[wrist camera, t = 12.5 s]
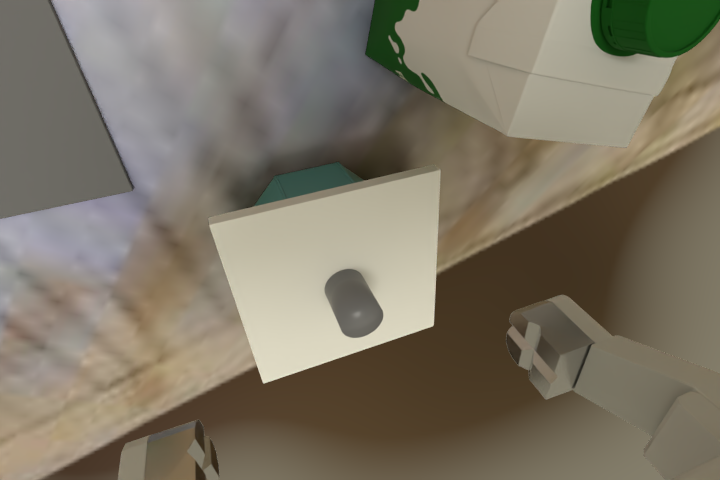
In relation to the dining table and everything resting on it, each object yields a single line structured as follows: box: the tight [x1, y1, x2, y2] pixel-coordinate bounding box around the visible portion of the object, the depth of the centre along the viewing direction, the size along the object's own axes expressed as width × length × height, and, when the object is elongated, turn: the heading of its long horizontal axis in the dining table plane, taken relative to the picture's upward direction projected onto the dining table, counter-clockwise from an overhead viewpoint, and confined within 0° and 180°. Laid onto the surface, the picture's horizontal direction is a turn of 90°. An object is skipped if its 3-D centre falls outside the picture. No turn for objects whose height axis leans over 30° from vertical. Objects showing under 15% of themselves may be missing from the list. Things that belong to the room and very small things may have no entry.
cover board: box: [208, 164, 441, 383], centre depth 31 cm, size 16×16×5 cm
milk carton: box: [365, 0, 720, 148], centre depth 23 cm, size 9×9×20 cm
